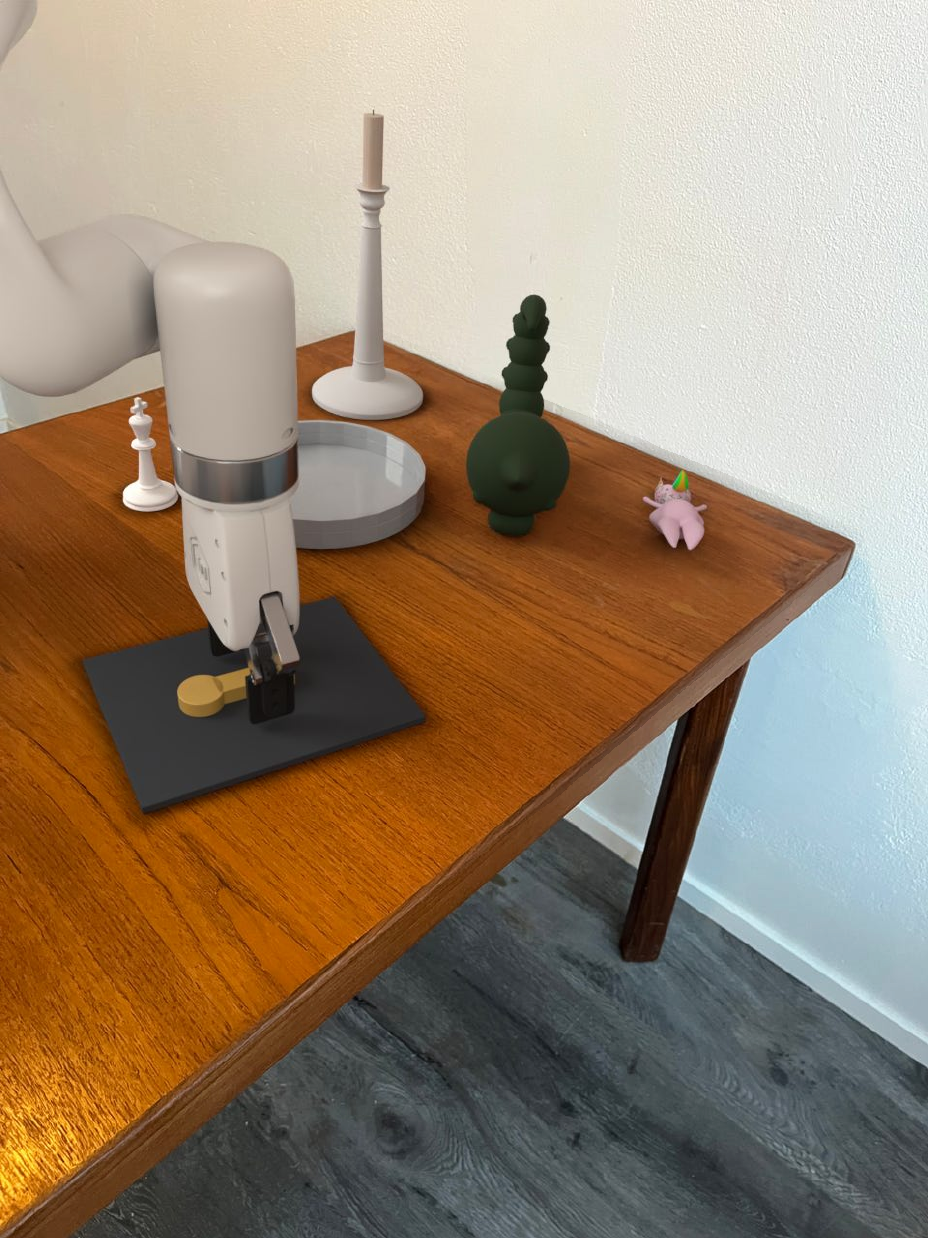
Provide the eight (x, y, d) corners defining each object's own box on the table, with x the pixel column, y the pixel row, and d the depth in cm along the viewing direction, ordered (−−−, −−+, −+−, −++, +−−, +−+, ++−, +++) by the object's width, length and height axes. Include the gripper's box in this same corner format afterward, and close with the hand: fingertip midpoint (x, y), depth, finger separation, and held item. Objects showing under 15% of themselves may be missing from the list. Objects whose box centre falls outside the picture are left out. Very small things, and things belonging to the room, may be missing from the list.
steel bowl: (258, 569, 83) (256, 539, 81) (187, 465, 97) (184, 438, 95) (461, 522, 92) (463, 494, 90) (369, 433, 106) (370, 408, 104)
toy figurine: (471, 456, 107) (454, 562, 85) (488, 277, 97) (473, 347, 75) (557, 465, 106) (561, 574, 85) (582, 287, 97) (594, 359, 75)
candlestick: (437, 386, 117) (455, 109, 99) (399, 428, 107) (412, 128, 89) (339, 366, 120) (339, 92, 102) (293, 405, 110) (285, 109, 92)
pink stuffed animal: (636, 504, 100) (643, 560, 87) (647, 448, 98) (656, 498, 84) (697, 512, 100) (713, 570, 87) (709, 456, 97) (728, 507, 84)
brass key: (186, 722, 67) (185, 709, 66) (172, 694, 69) (171, 681, 68) (299, 690, 70) (298, 677, 70) (282, 664, 72) (282, 651, 72)
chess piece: (188, 494, 92) (178, 395, 86) (154, 517, 89) (141, 415, 83) (146, 480, 94) (134, 382, 88) (111, 502, 90) (95, 401, 84)
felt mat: (143, 814, 61) (141, 808, 60) (83, 665, 71) (82, 659, 71) (426, 722, 69) (426, 715, 69) (334, 602, 80) (334, 596, 80)
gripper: (135, 411, 64) (163, 627, 74) (223, 544, 52) (242, 778, 62) (246, 395, 67) (258, 604, 77) (352, 516, 55) (349, 743, 66)
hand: (251, 680), depth 70 cm, fingers open, 7 cm apart
